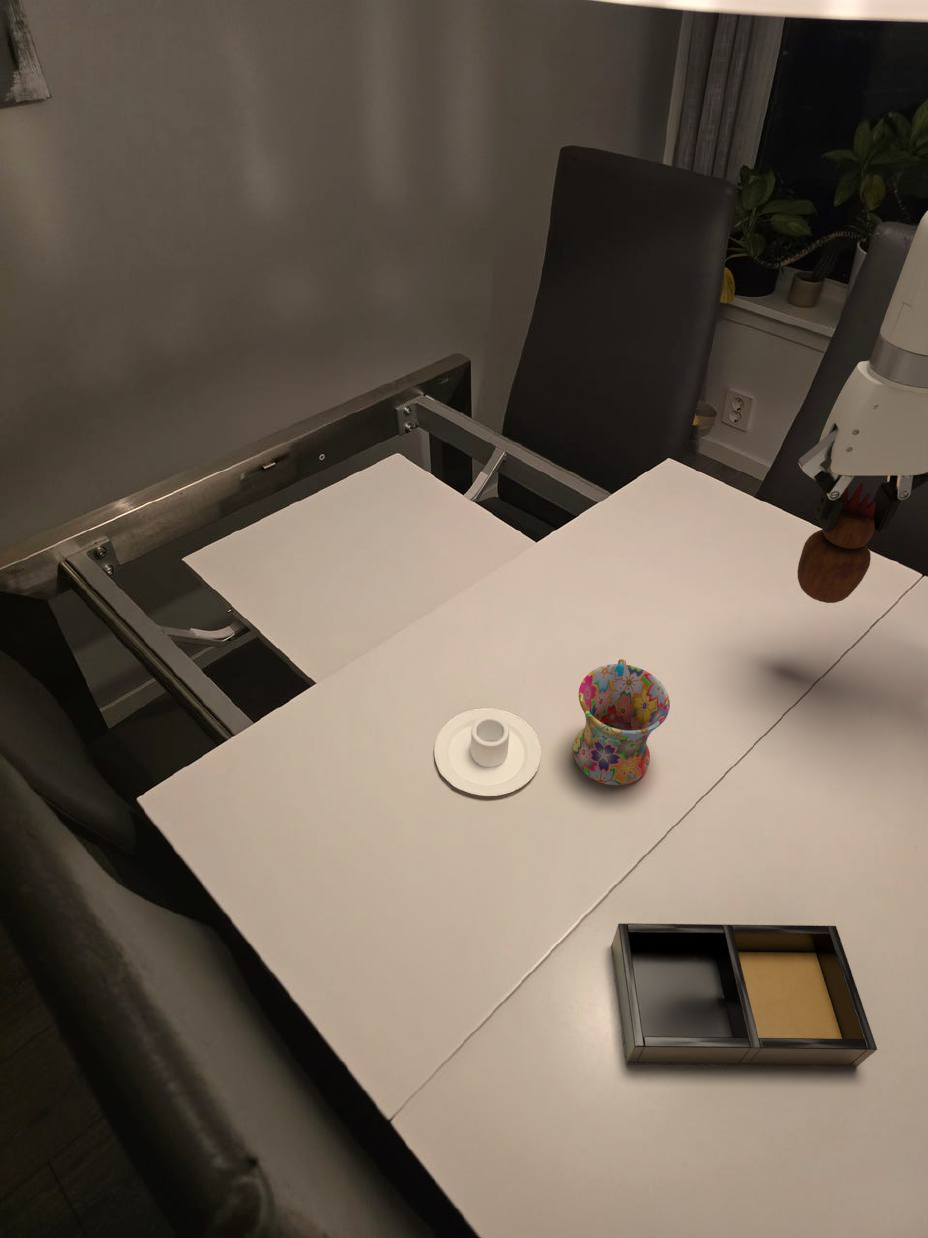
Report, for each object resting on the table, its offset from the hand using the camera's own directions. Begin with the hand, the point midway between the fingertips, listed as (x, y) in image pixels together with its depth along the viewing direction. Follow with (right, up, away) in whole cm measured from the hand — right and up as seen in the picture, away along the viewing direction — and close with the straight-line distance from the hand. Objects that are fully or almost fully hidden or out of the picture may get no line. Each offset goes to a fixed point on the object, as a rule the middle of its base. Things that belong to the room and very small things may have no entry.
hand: (850, 522), depth 82 cm
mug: (-24, -25, +8) cm, 35 cm away
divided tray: (-17, -44, -12) cm, 49 cm away
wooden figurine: (0, -7, +7) cm, 10 cm away
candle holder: (-38, -25, +7) cm, 46 cm away
